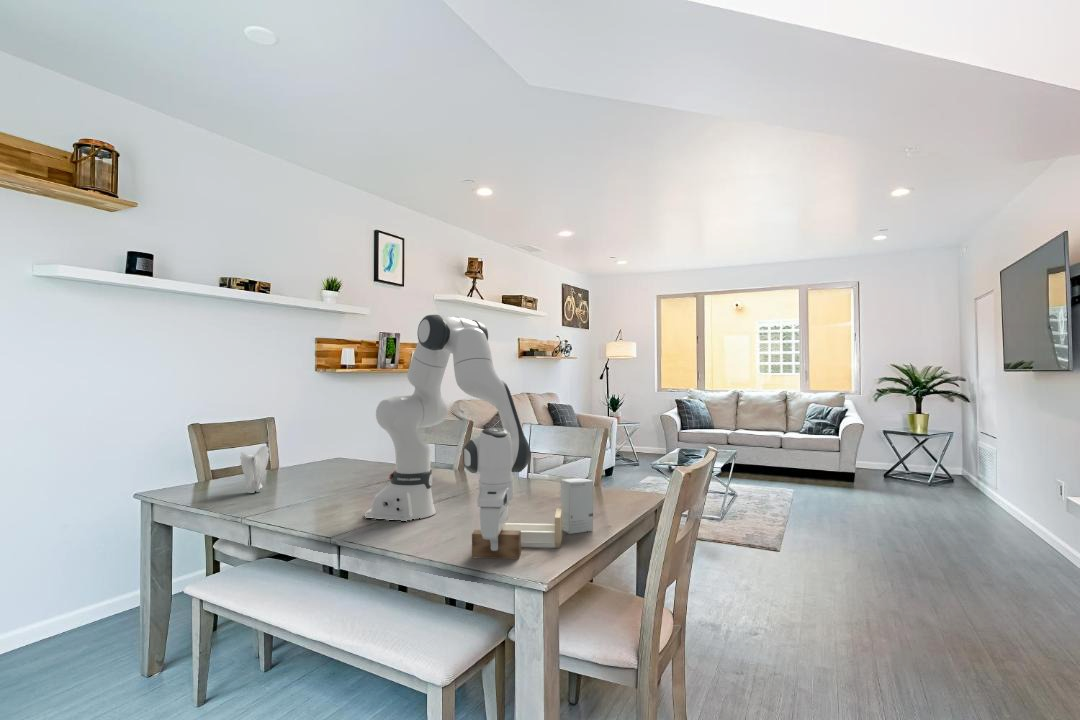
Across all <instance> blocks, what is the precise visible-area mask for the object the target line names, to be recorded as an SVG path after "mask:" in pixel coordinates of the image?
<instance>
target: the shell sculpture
mask: <svg viewBox="0 0 1080 720" xmlns="http://www.w3.org/2000/svg"><path fill="white" fill-rule="evenodd" d="M269 449H270V448H269V447H268V446H267V445H261V447H259V449H258V450H257V452H256V453H253V454H247V453H246V452H244V451H241V452H240V454H241V455H240V465H241V469H242V472H243V475H244V478H245V479H244V480H245V481H246V488H245V490H246V489H247V490H252V489H254V490H256V489H260V488H262V487H263V488H264V486H263V485H262V480H263V478H264V475H265V473H266V468H267V465H268V464H269V457H270V453H269V451H270V450H269ZM254 487H255V488H254Z"/></svg>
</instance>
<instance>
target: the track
mask: <svg viewBox="0 0 1080 720" xmlns="http://www.w3.org/2000/svg"><path fill="white" fill-rule="evenodd" d="M555 510H556V511H555V515H554V523H527V522H526V523H523V522H521V523H516V522H514V523H513V522H511V523H510V522H506V523H505V524H504V526H503V530H516V531H521V548H545V549H546V548H550V549H551V548H552V549H554V548H555V549H556V548H557V549H559V548H560V549H561V547H562V541H563V530H562V508H561V507H556V509H555Z"/></svg>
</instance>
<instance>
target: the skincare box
mask: <svg viewBox="0 0 1080 720" xmlns="http://www.w3.org/2000/svg"><path fill="white" fill-rule="evenodd" d="M560 508H562V532H565V533H566V534H567V535H575V534H580V533H586V532H587V531H588V532H593V531H594V480H592V479H588V478H585V477H580V478H579V477H577V478H565V479H560Z"/></svg>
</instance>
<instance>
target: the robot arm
mask: <svg viewBox="0 0 1080 720" xmlns="http://www.w3.org/2000/svg"><path fill="white" fill-rule="evenodd" d="M417 341H418V342H417V344H416V347H415V349H414V352H413V355H412V358H411V361H410V364H409V367H408V371H407V373H406V376H407V380H408V382H409V383H410V385H412V386H413V387H414V391H413V393H412V394H411V395H396V396H392V397H388V398H384V399H383V400H381V401H380V402H379V403H378V405H377V407H376V409H375V417H376V418H375V419H376V423H377V424H378V425H379V426H380V427H381V428H382V429H383V430H385V432H386V433H388V436H390V439H391V440H392V443H393V446H394V451H395V453H394V454H395V470H393V471H392V473H391V474H389V475H388V479H389V480H390V483H389V484H387V485H386V486H385V487H384V488H382V489H381V490H380V491H379V492H378V493H376V495H375V496H374V497H373V500H372V503H371V507H370V508H369V509H368V510H366V511H365V513H364V516H365V517H373V518H382V519H393V520H401V521H406V522H408V521H407V520H410V521H413V520H412V519H414V520H419V518H420V519H425V518H429V517H431V516H433V515H435V514H436V508H435V505H434V500H433V494H432V485H433V473H432V472H433V471H432V469H431V447H430V445H429V443H427V442H426V441H424V440H422V439H421V437H420V436H419V432H418V429H421V428H431V427H434V426H436V425H439V424H441V423H443V422H444V421H445V420H446V418H447V416H448V404H447V403H446V401H445V399H444V398H443V396H442V395H441V394H442V392H441V388H442V387H441V386H442V383H443V378H444V375H445V371H446V369H447V366H448V362H449V360H450V355H451V354H452V357H453V359H452V360H453V362H452V363H453V371H454V378H455V381H456V384H457V387H459V388H460V390H461V391H463V392H464V393H465V394H466V395H468V396H471V397H473V398H476V399H479V400H481V401H483V402H484V401H485V402H487V403H489V404H490V405H492V406H494V408H495V409H496V410H497V412H498V415H499V418H500V421H501V422H500V423H501V424H502V425H501V426H502V427H486V428H483V429H482V430H481V431H480V433H479V436H477V437H475V438H472V439H469V440H468V442H466V444H465V445H464V447H463V448H462V449H463V450H462V461H463V462H462V463H463V467H464V468H465V469H466V470H467V471H468V472H470V473H471V474H475V475H476V474H477V475H479V477H478V497H477V503H476V504H477V505H476V506H477V507H478V508H479V507H480V508H479V521H480V530H481V534H482V537H483V539H487V540H490V543H491V550H492V551H497V550H498V548H499V542H498V536H499V534H500V532H501V530H503V526H504V524H505V523H507V520H508V519H509V516H510V510H509V509H510V508H509V506H510V505H509V502H510V501H512V500H513V499H514V477H513V473H521V472H522V471H524V470H525V468H526V467H527V465H528V464H529V463H530V461H531V456H532V453H531V448H530V444H529V441H528V440H527V438H526V436H525V433H524V431H523V428H522V425H521V422H520V418H519V415H518V412H517V409H516V407H515V403H514V399H513V396H512V394H511V391H510V389H509V387H508V385H507V382H505V381H504V380H502V379H501V378H500V377H499V375H498V374H497V373H496V370H495V368H494V364H493V357H492V353H491V347H490V343H489V332H488V329H487V327H486V325H485V324H483V322H480V321H477V320H475V319H473V320H471V319H468V318H465V317H460V316H451V315H450V316H449V315H440V314H428V315H425V316H424V317H423V318H422V319H421V321H420V322H419V324H418V326H417ZM365 517H364V518H365ZM401 521H400V522H401Z"/></svg>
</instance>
